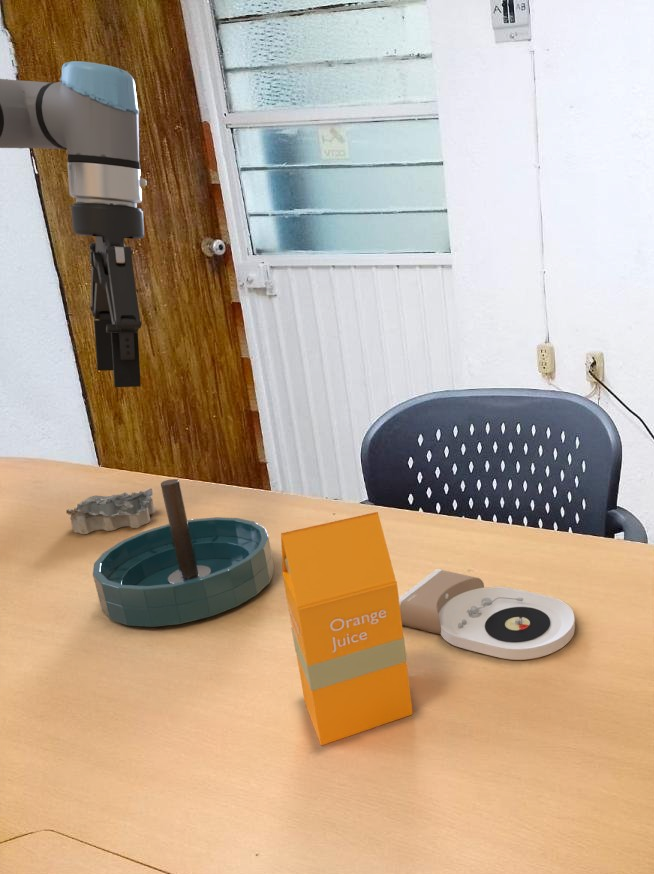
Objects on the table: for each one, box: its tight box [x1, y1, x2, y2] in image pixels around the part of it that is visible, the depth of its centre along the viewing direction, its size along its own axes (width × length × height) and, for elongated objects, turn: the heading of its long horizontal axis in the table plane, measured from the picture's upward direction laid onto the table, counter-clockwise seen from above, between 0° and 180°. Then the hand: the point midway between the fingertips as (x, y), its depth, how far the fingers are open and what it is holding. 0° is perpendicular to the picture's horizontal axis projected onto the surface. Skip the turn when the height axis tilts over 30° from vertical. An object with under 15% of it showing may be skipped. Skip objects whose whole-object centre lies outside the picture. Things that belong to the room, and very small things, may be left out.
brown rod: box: [160, 478, 212, 584], centre depth 102 cm, size 5×5×14 cm
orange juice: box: [280, 511, 414, 746], centre depth 78 cm, size 8×9×20 cm
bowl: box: [92, 516, 275, 628], centre depth 104 cm, size 20×20×6 cm
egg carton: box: [65, 488, 156, 535], centre depth 124 cm, size 11×8×4 cm
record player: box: [399, 568, 576, 661], centre depth 95 cm, size 12×3×20 cm
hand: (118, 378), depth 105 cm, fingers open, 13 cm apart
